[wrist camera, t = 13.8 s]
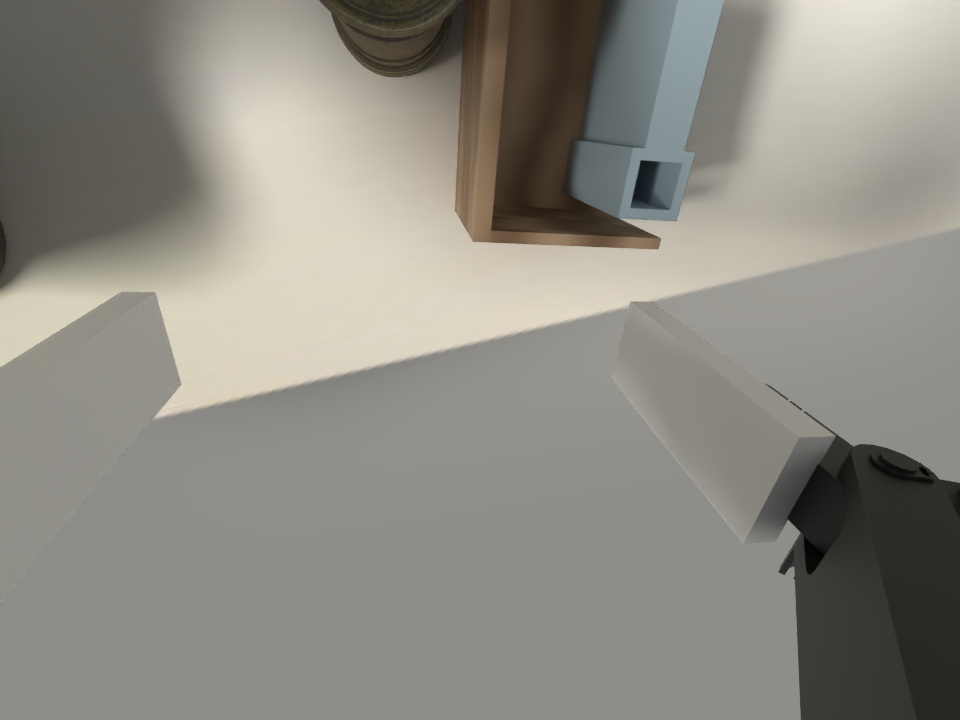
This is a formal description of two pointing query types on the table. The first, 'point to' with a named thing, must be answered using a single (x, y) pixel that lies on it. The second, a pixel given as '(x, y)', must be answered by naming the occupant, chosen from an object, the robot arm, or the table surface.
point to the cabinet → (528, 125)
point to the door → (641, 106)
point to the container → (392, 32)
